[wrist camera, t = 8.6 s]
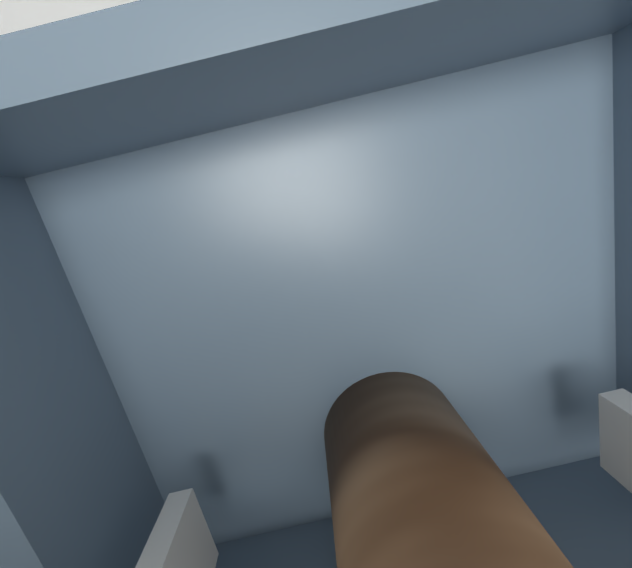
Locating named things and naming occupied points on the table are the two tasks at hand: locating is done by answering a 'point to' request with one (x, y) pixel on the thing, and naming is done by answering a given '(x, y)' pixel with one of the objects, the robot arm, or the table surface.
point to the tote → (306, 260)
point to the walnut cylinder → (421, 485)
